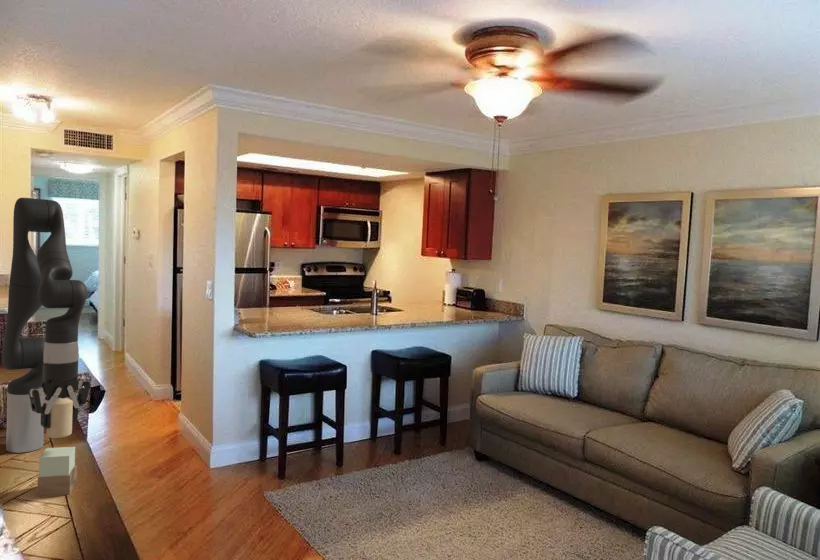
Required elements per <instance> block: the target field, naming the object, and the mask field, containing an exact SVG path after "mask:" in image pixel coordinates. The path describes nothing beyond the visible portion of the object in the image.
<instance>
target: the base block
mask: <svg viewBox="0 0 820 560" xmlns="http://www.w3.org/2000/svg"><path fill="white" fill-rule="evenodd" d="M77 469H78V467H77V464H75V466H74V468H73V469H72V471H71V473H70V474H69V475H68V476H52V477H39V476H38V477H37V498H40V497H43V496H44V497H58V496H70V495H71V493H72V491H73V489H74V488H75V486H76V485H75V484H77V471H78V470H77Z"/></svg>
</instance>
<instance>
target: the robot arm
mask: <svg viewBox="0 0 820 560" xmlns="http://www.w3.org/2000/svg"><path fill="white" fill-rule="evenodd" d="M12 219H13V220H12V222H13V223H12V224H13V225H12V226H13V227H12V228H13V231H12V232H13V235H12V237H13V238H12V240H13V241H12V258H11V266H10V267H11V268H10V274H9V281H8V282H9V283H8V284H9V285H8V301H7V318H6V323H5V324H6V325H5V331H4V335H3V336H4V337H3V343H2V350H1V363H2V366H3V368H4V369H6V370H9V371H10V370H11V371H14V370H15V371H16V370H26V369H29V371H28V372H26V373H25V374H24V375H22V376H20V377H17V378H15V379H13V380H11V381H9V382H8V384H7V394H6V395H7V399H6V402H7V403H6V404H7V405H6V434H5V435H6V437H5V438H6V439H5V442H6V443H5V445H6V446H5V447H6V448H5V451H7V452H9V453H15V454H17V453H18V454H20V453H29V452H33V451H36V450H40V449H41V448H42V447H44V435H45V433H44V432H45V430H47V429H48V428H50V414H49V412H50V410H51V408H52V405H54V404H55V402H56V400H57V398H62V399H63V398H66V397H70V399H71V400H72V401H73V413H72V424H74V423H76V420H78V418H79V407H81V406H82V405H86V403H87V401H88V395H89V392H90V391H89V390H90V386H91V381H88V380H85V379H82V380H79V379H78V376H79V358H80V354H79V352H80V351H79V350H80V349H79V341H78V340H79V325H80V324H79V323H80V318H81V317H82V313H83V310H84V307H85V305H86V303H87V298H88V288H87V285H86V284H85V283H84V281H82V280H79V279H71V278H72V277H73V267H72V264H71V261H70V257H69V255H68V251H67V240H66V228H65V220H64V219H65V218H64V213H63V208H62V207H61V205H60V203H59V202H58V201H56V200H51V199H43V198H33V197H19V198H17V200H16V201H15V203H14V207H13V218H12ZM31 232H32V233H47V234H48V233H50V235H49V236H48V238H47V239H45V241H44V242H43V244H42V245H40V247H39V249H38V251H37V254H36V253H35V252H34V250H33V248H32V246H31V244H30V241H29V233H31ZM41 307H44V308H46V309H68V310H67V311H66V312H65V313H64V314H62V315H59V316H55V317H51V318H48V319H47V320H46V322H45V327H44V328H45V332H44V333H45V334H44V336H45V337H43V336H26V337H21V334H22V331H23V330H24V328H25V326H26V324H27V323H28V321H30V319H31V318H32V317H33V316H34V315H35V314H36V313H37V312H38V311H39V310H40V308H41ZM77 388H78V392H77V395H76V394H75V391H76V389H77Z"/></svg>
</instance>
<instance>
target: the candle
mask: <svg viewBox="0 0 820 560" xmlns="http://www.w3.org/2000/svg"><path fill="white" fill-rule="evenodd" d="M72 413H73V401H72V400H71V399H70V397H66V398H63V399H62V398H57V400H56V402H55V404H54V405H52V408H51V410H50V412H49V414H50V428H48V429H45V430H46V434H45V435H46V437H47V438H50V439H51V438H52V439H58V438H65V437H69V436H71V434H72V433H73V423H72Z"/></svg>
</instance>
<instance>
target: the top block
mask: <svg viewBox="0 0 820 560" xmlns="http://www.w3.org/2000/svg"><path fill="white" fill-rule="evenodd" d="M75 465H76V446H65V447H64V446H63V447H46V448H45V450H44V451H43V452H42V453H41V454H40V456H39V457H38V477H52V476H68V475H69V474H70V473H71V471H72V469H73V468H74V466H75Z"/></svg>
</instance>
